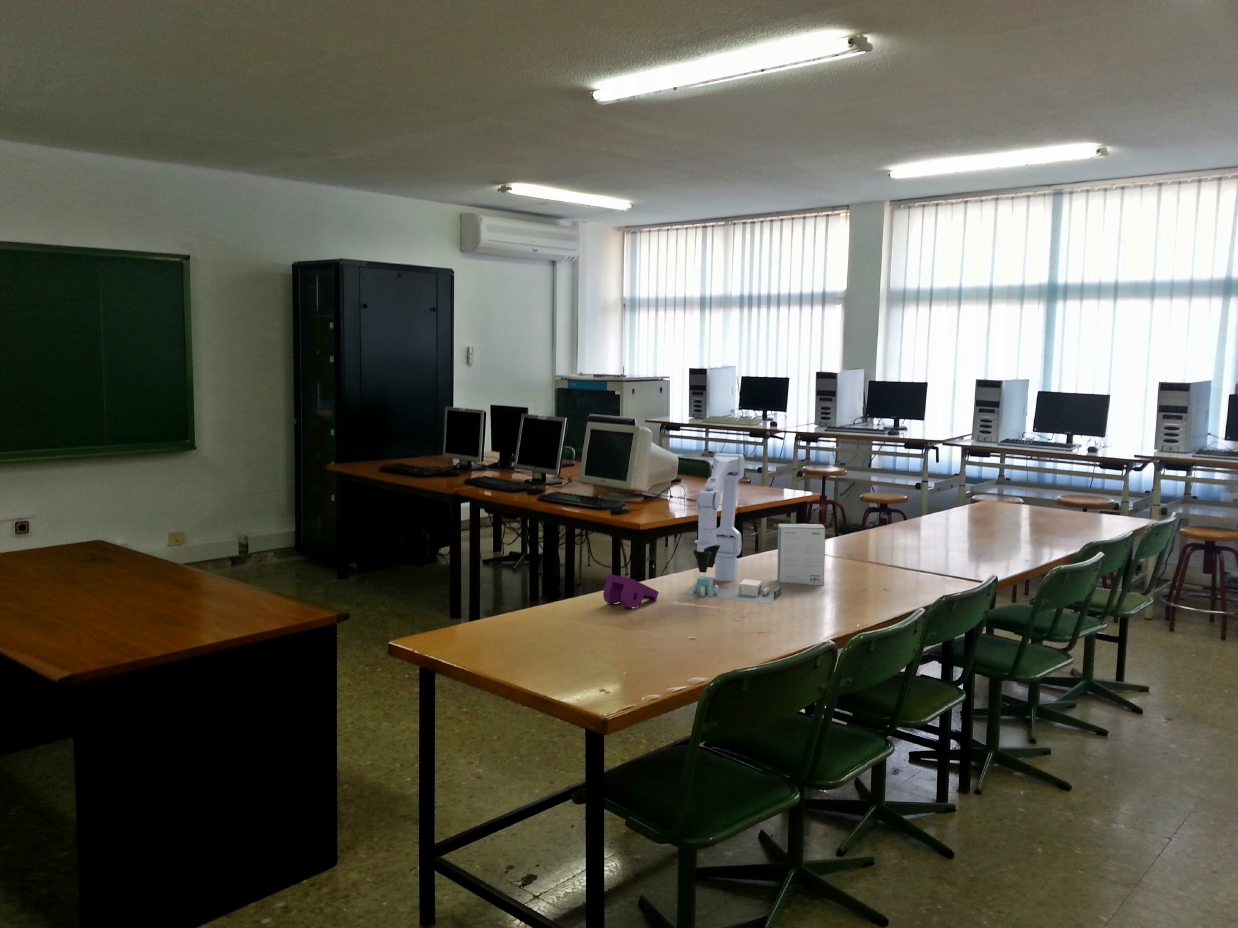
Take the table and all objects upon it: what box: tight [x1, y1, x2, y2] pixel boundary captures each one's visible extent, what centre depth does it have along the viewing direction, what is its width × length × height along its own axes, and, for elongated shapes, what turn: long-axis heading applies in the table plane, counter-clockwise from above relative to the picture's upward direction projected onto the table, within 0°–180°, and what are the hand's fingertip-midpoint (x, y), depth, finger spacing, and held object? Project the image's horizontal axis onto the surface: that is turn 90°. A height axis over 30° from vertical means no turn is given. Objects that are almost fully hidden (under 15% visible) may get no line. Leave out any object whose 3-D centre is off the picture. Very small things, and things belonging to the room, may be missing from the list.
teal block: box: [696, 575, 714, 595], centre depth 301 cm, size 4×4×5 cm
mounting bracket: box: [602, 573, 660, 609], centre depth 291 cm, size 9×8×18 cm
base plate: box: [684, 582, 782, 605], centre depth 301 cm, size 15×28×4 cm, turn 68°
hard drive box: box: [776, 523, 826, 586], centre depth 320 cm, size 16×8×20 cm, turn 84°
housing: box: [738, 578, 764, 596], centre depth 302 cm, size 7×6×4 cm
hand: (706, 569), depth 300 cm, fingers open, 7 cm apart
